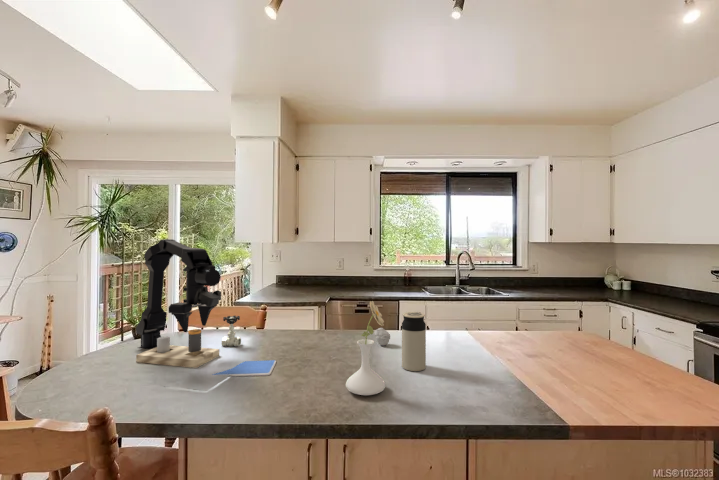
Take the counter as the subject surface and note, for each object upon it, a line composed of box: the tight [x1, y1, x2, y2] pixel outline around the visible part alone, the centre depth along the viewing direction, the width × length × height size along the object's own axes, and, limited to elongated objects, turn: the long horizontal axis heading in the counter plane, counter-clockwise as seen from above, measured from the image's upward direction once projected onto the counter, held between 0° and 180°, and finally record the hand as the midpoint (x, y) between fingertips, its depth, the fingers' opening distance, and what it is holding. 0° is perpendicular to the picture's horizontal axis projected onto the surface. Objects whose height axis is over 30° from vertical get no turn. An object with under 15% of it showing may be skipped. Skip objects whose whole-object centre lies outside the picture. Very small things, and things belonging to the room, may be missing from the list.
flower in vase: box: [345, 300, 387, 396], centre depth 96 cm, size 13×11×25 cm
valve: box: [221, 315, 242, 348], centre depth 134 cm, size 7×7×12 cm
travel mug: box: [401, 311, 427, 372], centre depth 113 cm, size 8×8×18 cm
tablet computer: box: [211, 359, 277, 378], centre depth 111 cm, size 19×13×1 cm, turn 94°
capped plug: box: [187, 328, 202, 352], centre depth 117 cm, size 4×4×7 cm
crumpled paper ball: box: [373, 327, 391, 346], centre depth 137 cm, size 6×7×7 cm
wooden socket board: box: [135, 344, 220, 369], centre depth 119 cm, size 24×12×3 cm, turn 77°
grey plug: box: [157, 336, 171, 353], centre depth 120 cm, size 4×4×7 cm
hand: (195, 328), depth 117 cm, fingers open, 9 cm apart
